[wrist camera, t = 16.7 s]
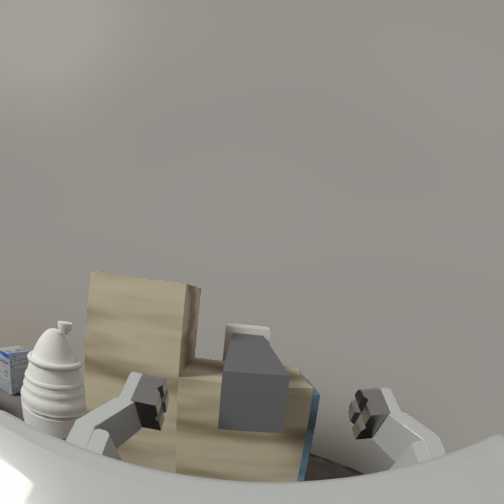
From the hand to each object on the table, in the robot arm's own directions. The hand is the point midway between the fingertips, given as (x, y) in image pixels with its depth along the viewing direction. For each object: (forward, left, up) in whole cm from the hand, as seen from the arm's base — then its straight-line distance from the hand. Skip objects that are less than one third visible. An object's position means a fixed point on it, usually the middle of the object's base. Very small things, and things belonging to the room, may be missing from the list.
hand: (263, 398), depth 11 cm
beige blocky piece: (+13, +4, -21) cm, 25 cm away
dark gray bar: (+11, 0, -2) cm, 11 cm away
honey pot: (+28, +30, -21) cm, 46 cm away
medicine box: (+33, +45, -21) cm, 60 cm away
